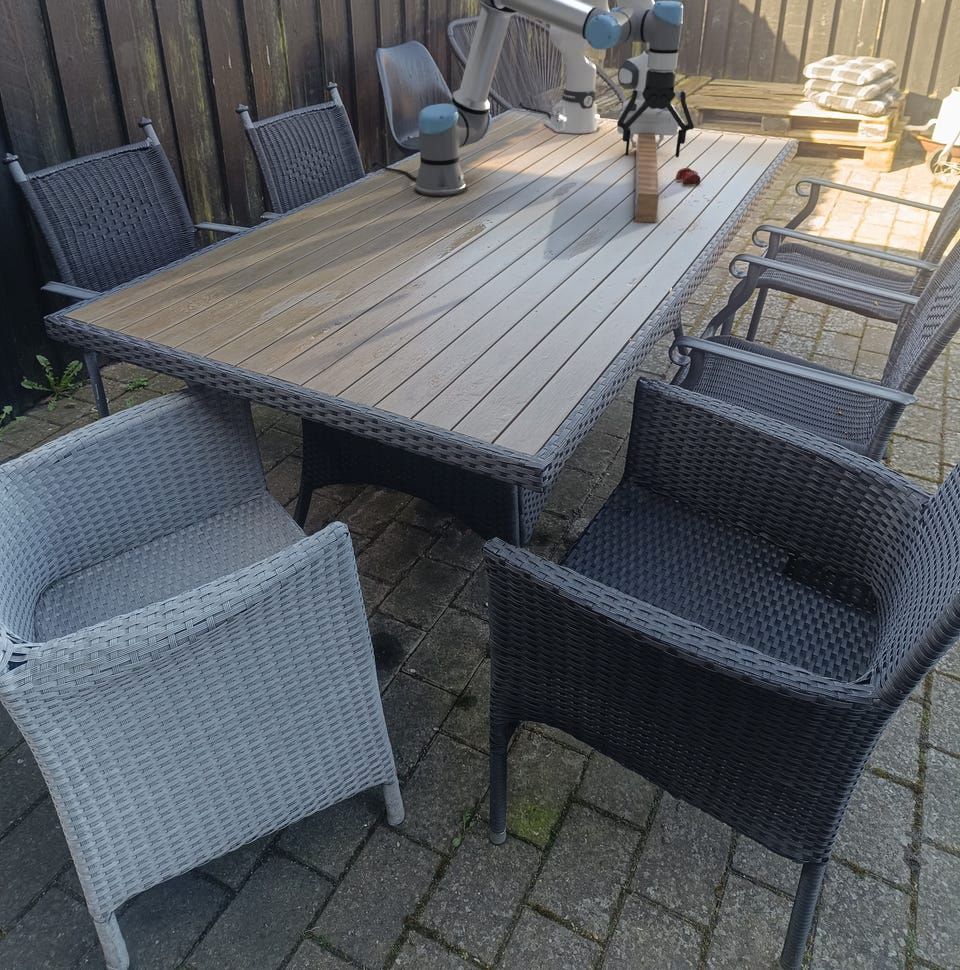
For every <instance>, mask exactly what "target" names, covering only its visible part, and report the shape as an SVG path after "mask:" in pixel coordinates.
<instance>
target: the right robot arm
mask: <svg viewBox="0 0 960 970" xmlns="http://www.w3.org/2000/svg"><path fill="white" fill-rule="evenodd" d="M580 1H583V2H585V3H588V4H590V5H593V6H595V7H597V8H600V9H602V10H605V11H608V12H610V10H611V9H610V7H609V0H580ZM615 1H616V6H617V7H627V8H636V9H647V10H649V9H650V10H651V9H653V7H654V3H655V2H656V1H655V0H615ZM549 26H550V27H549V38H550V42H551V43H552V45H553V46H554V47H555V48H556V49H557V50H558V51H559V53H560V54H561V56H562V59H563V62H564V65H565V66H564V68H565V88H563V91H561V94H562V96H561V100H560V101H558V103H556V104H555V105H554V106H553V107H552V109H551V112H549V111H546V110H540V109H536V108H531V107H527V106H525V105H524V103H523V101H520V102H519V104H518V106H519V107H521V108H522V110H523V109H524V110H526V111H530V112H534V113H539V114H543V115H544V114H545V115H548V117H549V119H547V120H545V121H544V123H543V124H544V125H545V126H546V127H548V128H549V129H551V130H552V131H554V132H556V133H562V134H563V133H564V134H565V133H566V134H580V135H581V134H591V133H594V132H596V131H597V129H598V128H600V125H599V123H598V119H599V118H600V114H598V104H596V99H597V89H596V81H597V66H596V64H595V63H594V62H593V61H592V60H591V59H589V58H587V57H586V55H585V49H588V48H593V47H592V46H591V45H590V44H589V43H588V41H587V40H586V39H583V38H581V37H578V36H576V35H573V34H571V33H569V32H566V31H564V30H561V29H559V28H557V27H554V26H552V25H549ZM645 45H646V49H645V50H644V51H642V53H641V54H638V55H637V56H634V57H631V58H627V59H625V60H622V62H621V63H620V65H619V67H618V71H617V80H618V83H619V86H620V87H621V88H622V89H623V90H626V91H633V89H635V88H636V89H637V90H642V91H644V89H645V83H646V74H647V71H648V70H649V69H648V67H647V64H648V55H649V43H645ZM629 101H630V99H628V100H625V101H623V104H622V110H621V111H620V114H619V116H618V119H619V118H620V117H621V115H622V113H623V111H624V110H625V108H626V106H627V104H628V103H629ZM644 102H645V99H644V97H643V95H641V96H640V97H639V99H636V101H635V103H634V105H633V106H632V108H631V110H630V112H629V113H628V115H627V117H626V119H625V120H624V122H625V123H626V121H627V120H628V119H629V118H630V117H631V116H632V115H633V114H634V113H635V112H636V111H637V110H638V109H639V107H640V106H641V105H642V104H643V103H644ZM672 105H673V107H674V108H675V110H676V111H677V113H678V114H679V116H680V117H681V113H682V111H681V108H680V107H678V106H677V105H674V104H672ZM616 126H617V125H616ZM678 127H679V125H678V123H677V122H676V120H675V119H674V117H673V116H672V114H671V113H670V111H669V110H668V109H667V107H666V108H664V109H658V108H656V109H651V108H650V107H648V108H647V109H646V110H645V111H644V112H643V113H642V114H641V115H640V116H639V117H638V118H637V119H636V120H635V121H634V122H633V124H632V125H631V126H630V127H629V128H631V131H630V142H631V147H630V148H631V149H636V147H637V141H635V140H634V139H633V138H634V135H638V134H639V133H643V134H655V136H658V138H659V139H658V141H656V150H659V149H660V145H661V143H662V142H663V140H664V136H668V137H669V136H672V137H673V136H677V135H678V130H679V129H678ZM616 131H617V133H618V134H619V135H621V134H622V135H623V128H622V127H618V126H617V127H616ZM676 134H677V135H676Z"/></svg>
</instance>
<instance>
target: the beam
mask: <svg viewBox="0 0 960 970" xmlns="http://www.w3.org/2000/svg"><path fill="white" fill-rule="evenodd" d="M656 142H657V141H656V135H655V134H643V133H639V134H637V137H636V148H635V196H634V197H635V200H634V201H635V202H634V206H635V207H634V208H635V209H634V221H635V222H636V223H656V221H657V213H658V206H659V196H660V189H659V173H658V156H657V149H656Z"/></svg>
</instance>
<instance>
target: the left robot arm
mask: <svg viewBox="0 0 960 970" xmlns="http://www.w3.org/2000/svg"><path fill="white" fill-rule="evenodd" d="M478 1H479V3H480V5H481V7H480V12H479V14H478V15H479V16H478V19H477V20H478V21H477V23H476V26H475V30H474V33H473V39H472V42H471V46H470V50H469V53H468V56H467V61H466V65H465V68H464V71H463V75H462V79H461V83H460V87H459V89H457V90H455V91H454V92H453V94H452V97H451V101H450V103H436V104H431V105H428V106H426V107H424V108H422V109H421V110H420V112H419V114H418V126H417V127H418V134H419V135H418V136H419V138H418V139H419V157H420V158H419V159H420V161H419V162H420V164H419V168H418V172H417V176H416V177H415V176H414V175H412V174H411V173H410V172H408V171H406V170H402V169H398V168H393V167H392V168H391V167H388V166H385V165H384V164H382V163H381V162H378V161H375V162H373V163H372V164H371V167H375V166H376V165H378V166H379V167H381V168H383V169H384V170H387V171H390V172H395V173H401V174H404V175H406V176H408V177H409V178H410V179H412V180H414V181H415V183H414V184H415V185H414V186H415V192H417V193H418V194H420V195H424V196H430V197H450V196H455V195H459V194H461V193H463V192H464V191H466V181H465V179H464V178H465V176H464V173H463V172H462V169H461V165H460V148H463V147H466V146H468V145H473V144H475V143H477V142H479V141H481V140H482V139H484V138H485V137H486V136H487V134H488V133H489V131H490V129H491V127H492V126H491V125H492V115H491V111H490V107H491V103H490V101H489V99H488V97H489V94H490V90H491V86H492V83H493V79H494V76H495V73H496V70H497V66H498V62H499V60H500V55H501V52H502V48H503V45H504V42H505V38H506V35H507V31H508V28H509V25H510V21H511V17H513V16H514V15H516V14H518V13H520V14H522V15H525V16H527V17H530V18H533V19H535V20H538V21H539V22H542V23H545V24H547V25H549V26H551V25H552V26H554V27H557V28H559V29H561V30H564V31H566V32H569V33H571V34H573V35H576V36H578V37H581V38H583V39H586V40H587V41H588V43H589V44H590V45H591V46H592V47H591V48H593V49H594V50H609V49H611V48H614V47H617V46H619V45H623V44H627V43H631V42H633V43H645V44H646V43H649V55H648V64H647V67H648V69H649V70H648V71H647V74H646V83H645V89H644V91H642V90H637V89H636V88H635V89H633V90H632V92H631V97H630V99H629V100H630V101H629V103H628V104H627V106H626V108H625V110H624V111H623V113H622V115H621V117H620V118H619V117H618V119H617V125H616V126H618V127H622V128H623V134H622V143H623V142H626V143H625V156H629V150H630V142H631V140H630V131H631V128H629V127H630V126H631V125H632V124H633V122H634V121H635V120H636V119H637V118H638V117H639V116H640V115H641V114H642V113H643V112H644V111H645V110H646V109H647V108H648V107H650V108H651V109H656V108H658V109H664V108H666V107H667V109H668V110H669V111H670V113H671V114H672V116H673V117H674V119H675V120H676V122H677V123H678V127H679V128H680V129H678V131H677V141H676V149H675V158H679V157H680V151H681V144H682V145H684V144H685V143H686V136H687V132H688V131H690V130H693V129H694V128H695V124H694V121H693V119H692V115H691V113H690V109H689V107H688V103H687V101H686V96H687V95H686V90H685V89H681V90H679V91H678V90H677V91H675V83H676V76H677V72H676V69H677V68H678V59H679V52H680V51H679V49H680V43H681V35H682V27H683V23H684V22H683V20H684V19H683V17H684V5H683V3H682V2H681V1H677V0H658V1H654V2H655V3H654V7H653V9H651V10H650V9H649V10H647V9H636V8H627V7H618V6H617V7H612V8H611V9H609V10H610V12H608V11H605V10H602V9H600V8H597V7H595V6H593V5H590V4H588V3H585V2H583V1H580V0H478ZM641 95H643V97H644V99H645V102H644V103H643V104H642V105H641V106H640V107H639V109H638V110H637V111H636V112H635V113H634V114H633V115H632V116H631V117H630V118H629V119H628V120H627V121H626V123H625V122H624V120H625V119H626V117H627V115H628V113H629V112H630V110H631V108H632V106H633V105H634V103H635V101H636V99H639V97H640V96H641ZM675 98H676V99H677V100H678V101H680V105H681V108H682V110H683V113H684V117H685V119H686V122H687V123H685V122H684V120H683V119H682V118H681V115H680V116H679V114H678V113H677V111H676V110H675V108H674V107H673V105H674V104H672V101H673V100H674V99H675Z"/></svg>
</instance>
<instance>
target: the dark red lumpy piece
mask: <svg viewBox="0 0 960 970" xmlns="http://www.w3.org/2000/svg"><path fill="white" fill-rule="evenodd" d="M675 181H682V182H681V183H682V185H683V186H689V185H690V186H691V185H700V184H701V176H700V175H699V172H698V171H696V170H693V169H691V168H689V167H683V168H681V169H679V170H678V171H677V172H676V175H675Z"/></svg>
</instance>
